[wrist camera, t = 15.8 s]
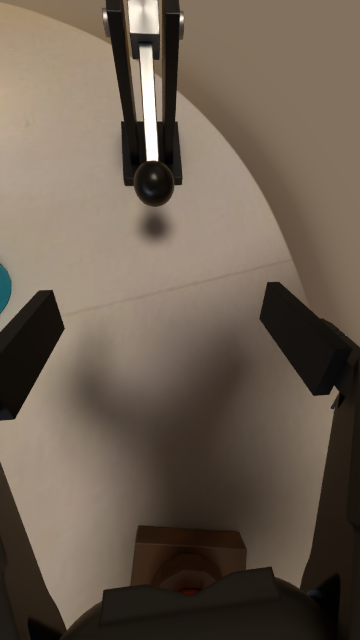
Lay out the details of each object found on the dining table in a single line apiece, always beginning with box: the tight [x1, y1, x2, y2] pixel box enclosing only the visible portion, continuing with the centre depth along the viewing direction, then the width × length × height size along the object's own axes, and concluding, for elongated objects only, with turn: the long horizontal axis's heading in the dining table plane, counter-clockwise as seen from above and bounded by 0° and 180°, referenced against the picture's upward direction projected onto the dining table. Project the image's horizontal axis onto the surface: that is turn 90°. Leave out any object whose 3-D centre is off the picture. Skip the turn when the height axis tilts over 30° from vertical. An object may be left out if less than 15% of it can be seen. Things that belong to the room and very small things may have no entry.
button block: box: [130, 526, 247, 592], centre depth 20 cm, size 10×8×4 cm
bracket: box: [102, 0, 184, 186], centre depth 23 cm, size 8×7×14 cm
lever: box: [127, 0, 174, 207], centre depth 20 cm, size 14×4×4 cm, turn 5°
